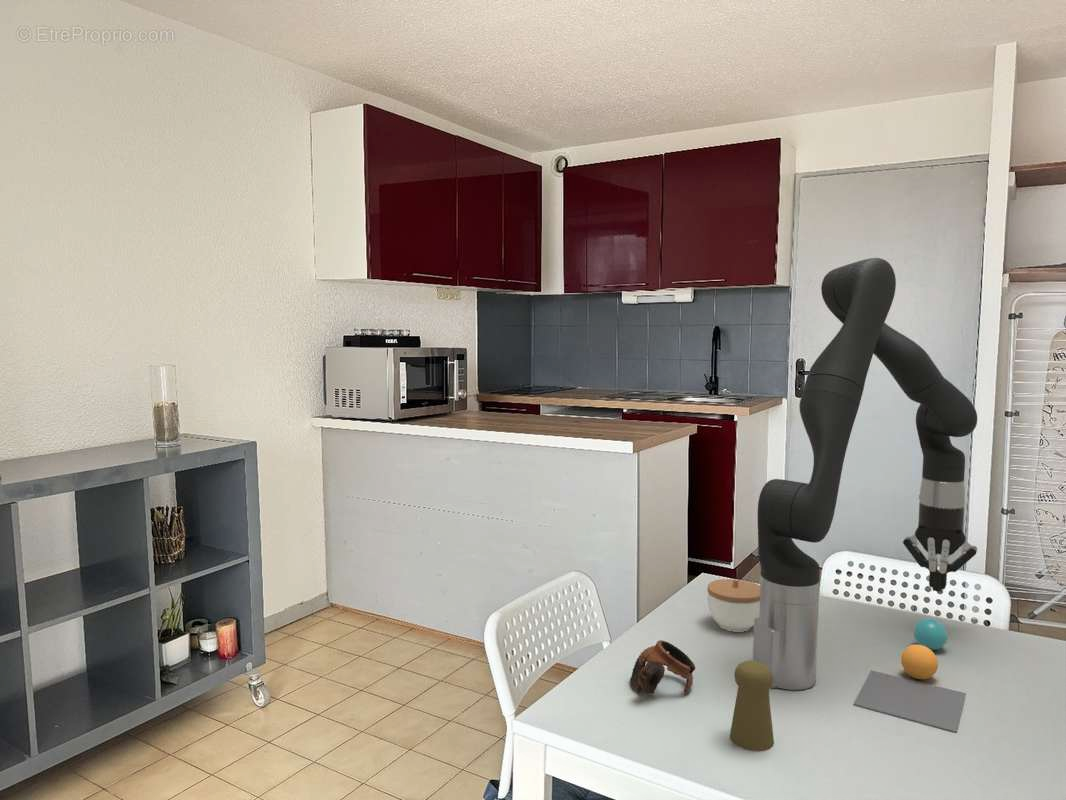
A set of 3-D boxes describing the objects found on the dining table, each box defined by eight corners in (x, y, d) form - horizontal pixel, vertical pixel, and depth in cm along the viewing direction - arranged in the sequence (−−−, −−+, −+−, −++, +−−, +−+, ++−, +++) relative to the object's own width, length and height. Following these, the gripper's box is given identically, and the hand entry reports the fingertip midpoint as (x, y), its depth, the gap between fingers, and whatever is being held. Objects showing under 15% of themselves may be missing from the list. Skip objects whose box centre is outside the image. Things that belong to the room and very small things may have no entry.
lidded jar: (770, 637, 140) (771, 589, 139) (713, 637, 140) (714, 589, 140) (754, 615, 151) (755, 571, 150) (701, 615, 151) (702, 570, 150)
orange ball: (915, 686, 121) (917, 654, 120) (892, 671, 126) (894, 640, 126) (945, 683, 122) (946, 651, 121) (920, 668, 127) (922, 637, 127)
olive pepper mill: (765, 756, 101) (767, 679, 100) (722, 741, 105) (725, 666, 104) (780, 737, 106) (782, 663, 105) (739, 723, 109) (741, 651, 108)
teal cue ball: (927, 656, 132) (929, 626, 132) (906, 643, 138) (907, 615, 137) (954, 653, 133) (955, 624, 133) (931, 641, 139) (933, 612, 138)
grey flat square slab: (956, 733, 107) (956, 731, 107) (853, 704, 115) (853, 703, 115) (965, 694, 118) (965, 693, 118) (871, 671, 126) (871, 670, 126)
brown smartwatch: (635, 671, 127) (661, 632, 126) (681, 709, 123) (708, 669, 122) (611, 683, 117) (638, 639, 116) (659, 724, 112) (688, 680, 111)
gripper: (983, 502, 141) (978, 591, 142) (906, 494, 148) (902, 578, 150) (980, 511, 134) (975, 603, 136) (900, 501, 142) (896, 589, 144)
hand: (937, 590), depth 143 cm, fingers closed
